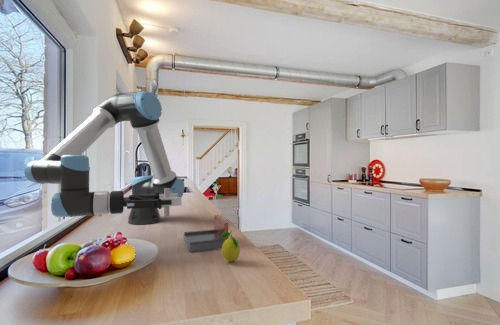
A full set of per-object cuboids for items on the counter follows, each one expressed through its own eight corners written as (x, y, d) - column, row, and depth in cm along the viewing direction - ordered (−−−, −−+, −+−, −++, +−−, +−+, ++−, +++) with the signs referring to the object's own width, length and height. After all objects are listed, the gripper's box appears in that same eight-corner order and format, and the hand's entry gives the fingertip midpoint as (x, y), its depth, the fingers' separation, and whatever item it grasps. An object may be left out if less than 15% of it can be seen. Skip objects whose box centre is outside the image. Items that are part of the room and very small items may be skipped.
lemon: (220, 258, 84) (220, 227, 84) (238, 257, 84) (239, 226, 84) (220, 266, 77) (220, 232, 77) (240, 266, 77) (240, 232, 77)
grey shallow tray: (184, 240, 102) (184, 217, 102) (217, 237, 107) (217, 215, 107) (190, 252, 89) (190, 225, 89) (228, 247, 94) (228, 222, 94)
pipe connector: (176, 219, 88) (176, 190, 88) (147, 219, 88) (147, 190, 88) (184, 213, 98) (184, 187, 98) (158, 213, 98) (158, 186, 98)
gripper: (113, 207, 97) (175, 204, 105) (105, 221, 76) (183, 215, 85) (113, 187, 97) (175, 185, 105) (105, 195, 76) (183, 192, 85)
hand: (179, 199), depth 95 cm, fingers closed on pipe connector, 10 cm apart
